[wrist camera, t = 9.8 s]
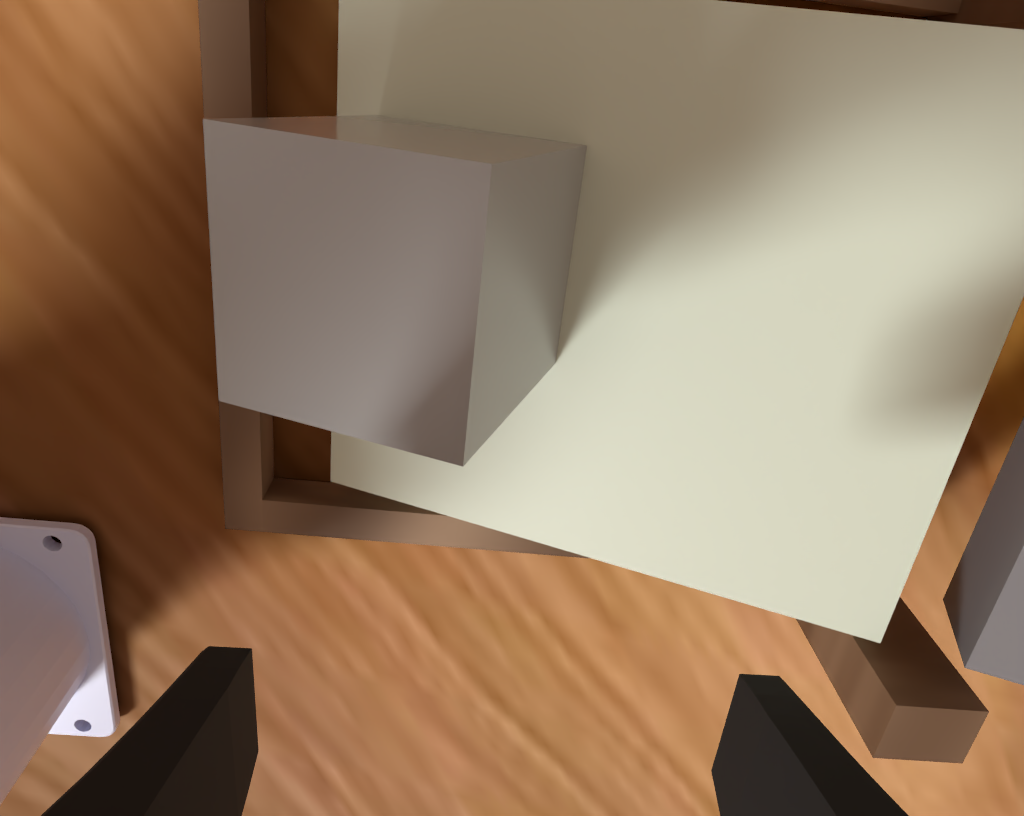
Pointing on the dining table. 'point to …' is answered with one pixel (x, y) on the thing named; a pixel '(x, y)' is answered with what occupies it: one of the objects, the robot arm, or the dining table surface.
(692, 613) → the dining table surface
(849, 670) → the frame
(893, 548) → the flap
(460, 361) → the stone
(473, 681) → the dining table surface
